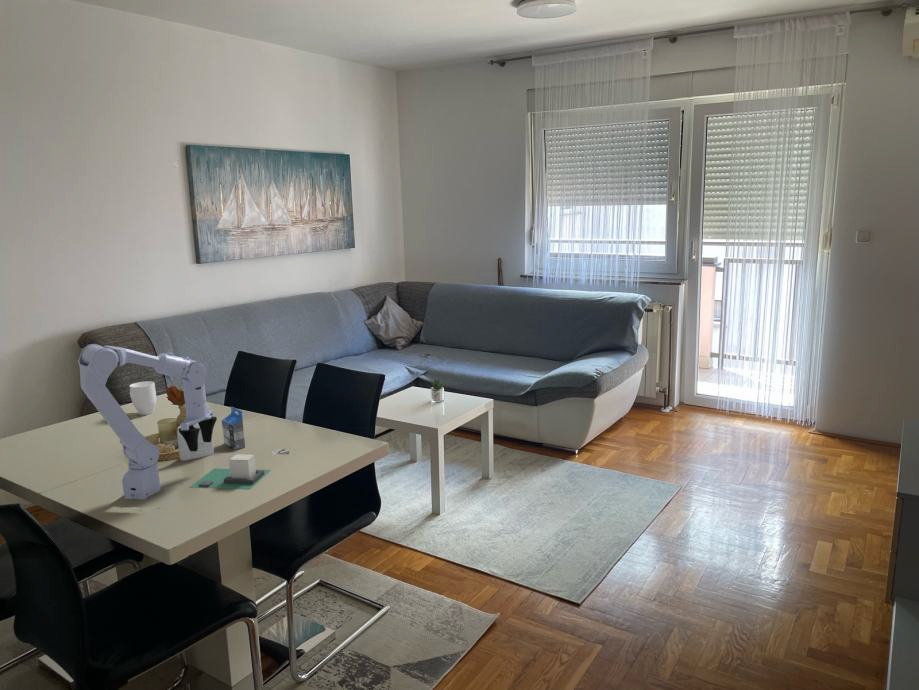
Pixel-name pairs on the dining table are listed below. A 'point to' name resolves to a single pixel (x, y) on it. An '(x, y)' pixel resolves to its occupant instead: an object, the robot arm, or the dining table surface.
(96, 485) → the dining table surface
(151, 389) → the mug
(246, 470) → the plug
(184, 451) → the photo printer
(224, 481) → the board
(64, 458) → the dining table surface
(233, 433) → the milk carton
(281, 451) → the pliers
